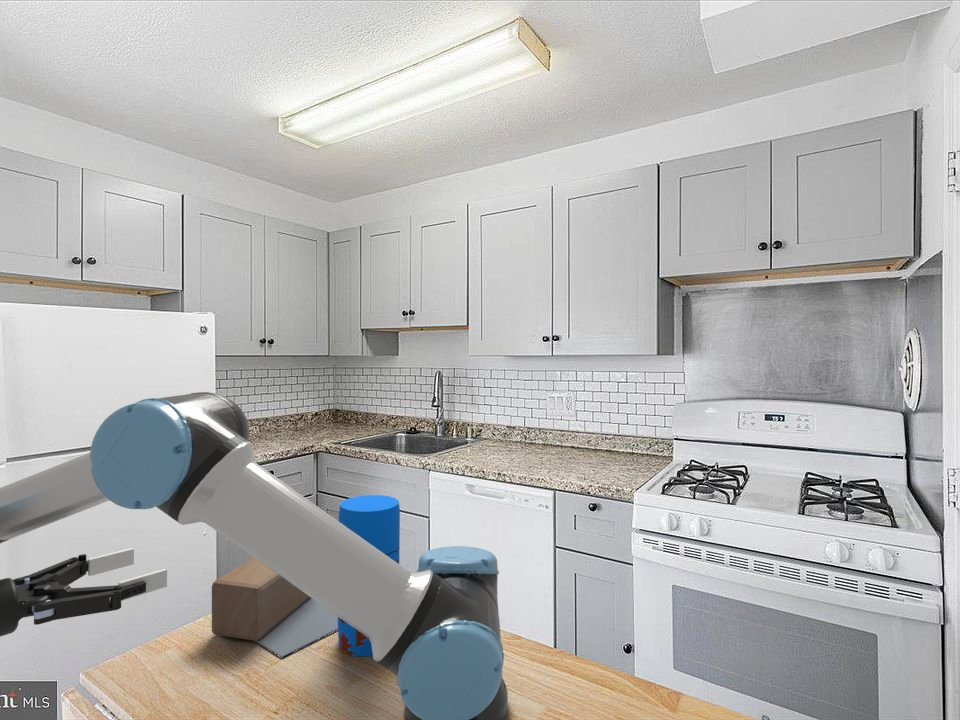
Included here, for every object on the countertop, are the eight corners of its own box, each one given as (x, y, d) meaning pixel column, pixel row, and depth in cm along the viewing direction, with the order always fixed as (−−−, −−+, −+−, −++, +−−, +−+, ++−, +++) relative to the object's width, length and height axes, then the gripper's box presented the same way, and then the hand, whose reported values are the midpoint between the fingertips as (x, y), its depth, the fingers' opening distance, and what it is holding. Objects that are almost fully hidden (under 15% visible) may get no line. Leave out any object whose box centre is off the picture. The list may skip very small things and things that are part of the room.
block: (258, 587, 94) (317, 547, 114) (209, 581, 96) (275, 542, 116) (258, 643, 94) (316, 593, 114) (209, 636, 97) (275, 588, 116)
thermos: (381, 619, 104) (382, 491, 104) (410, 643, 96) (411, 504, 96) (327, 637, 98) (328, 501, 97) (353, 664, 89) (355, 515, 89)
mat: (376, 611, 107) (376, 609, 107) (281, 658, 91) (281, 656, 91) (320, 586, 118) (320, 584, 118) (227, 624, 102) (227, 622, 102)
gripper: (-41, 612, 81) (120, 568, 97) (-3, 677, 65) (181, 612, 82) (-41, 563, 80) (121, 527, 97) (-3, 616, 65) (182, 563, 82)
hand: (149, 566), depth 90 cm, fingers open, 13 cm apart
